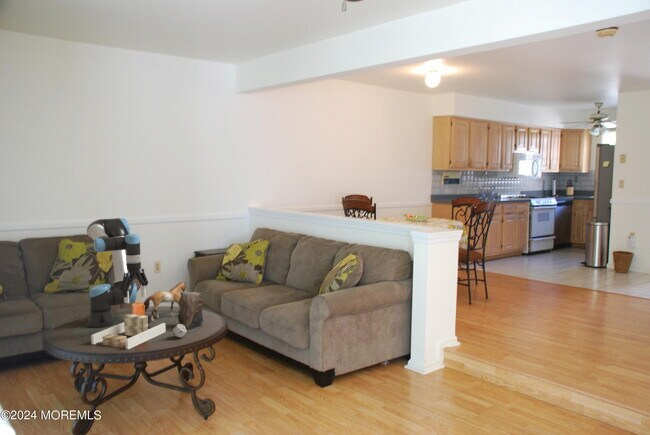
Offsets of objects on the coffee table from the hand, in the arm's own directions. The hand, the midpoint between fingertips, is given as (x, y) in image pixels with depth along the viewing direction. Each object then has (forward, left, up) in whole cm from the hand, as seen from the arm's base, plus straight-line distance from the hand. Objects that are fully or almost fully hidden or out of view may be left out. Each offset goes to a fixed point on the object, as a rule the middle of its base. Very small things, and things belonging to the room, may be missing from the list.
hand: (135, 299), depth 300 cm
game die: (+26, +4, -20) cm, 33 cm away
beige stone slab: (0, 0, -20) cm, 20 cm away
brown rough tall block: (+19, +23, -20) cm, 36 cm away
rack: (0, -5, -20) cm, 21 cm away
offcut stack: (0, -16, -20) cm, 26 cm away
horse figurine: (-8, +35, -20) cm, 41 cm away
